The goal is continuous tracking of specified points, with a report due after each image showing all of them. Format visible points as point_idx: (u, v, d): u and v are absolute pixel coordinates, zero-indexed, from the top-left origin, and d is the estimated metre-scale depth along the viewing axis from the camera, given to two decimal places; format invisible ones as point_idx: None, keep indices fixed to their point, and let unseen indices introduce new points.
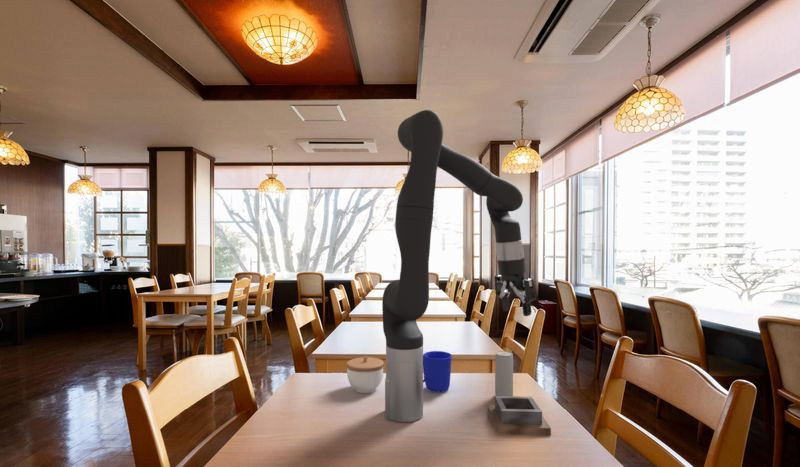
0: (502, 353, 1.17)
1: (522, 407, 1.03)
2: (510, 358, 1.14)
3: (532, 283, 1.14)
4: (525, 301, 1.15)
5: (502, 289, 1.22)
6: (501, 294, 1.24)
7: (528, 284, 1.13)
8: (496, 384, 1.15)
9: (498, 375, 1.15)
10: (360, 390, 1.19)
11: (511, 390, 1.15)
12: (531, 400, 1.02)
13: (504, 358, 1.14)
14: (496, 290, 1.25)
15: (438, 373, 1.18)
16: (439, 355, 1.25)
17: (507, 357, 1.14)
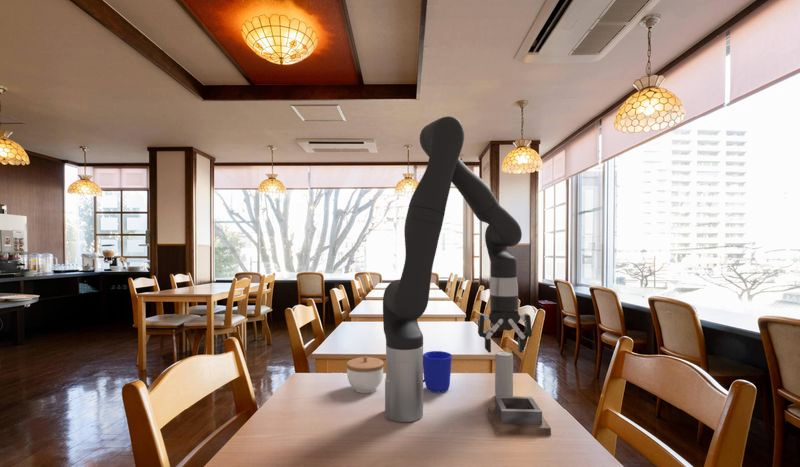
0: (502, 353, 1.17)
1: (522, 407, 1.03)
2: (510, 358, 1.14)
3: None
4: (524, 337, 1.15)
5: None
6: (489, 334, 1.15)
7: None
8: (496, 384, 1.15)
9: (498, 375, 1.15)
10: (360, 390, 1.19)
11: (511, 390, 1.15)
12: (531, 400, 1.02)
13: (504, 358, 1.14)
14: (481, 331, 1.15)
15: (438, 373, 1.18)
16: (439, 355, 1.25)
17: (507, 357, 1.14)
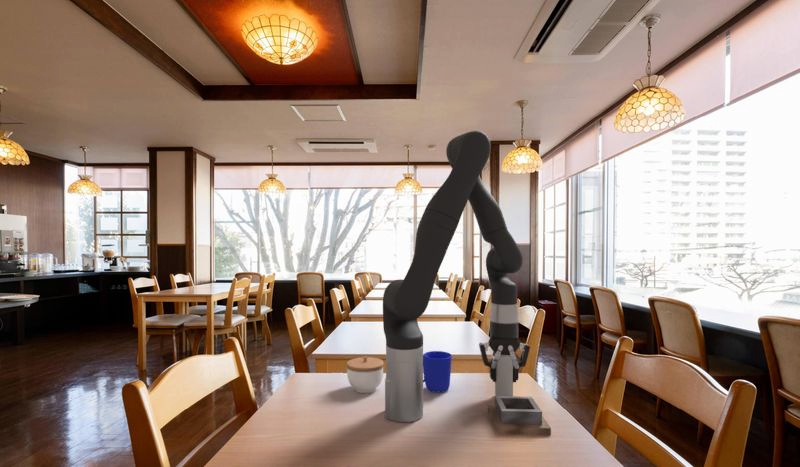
0: None
1: (522, 407, 1.03)
2: (510, 358, 1.14)
3: None
4: None
5: (496, 356, 1.15)
6: (493, 363, 1.15)
7: None
8: (496, 384, 1.15)
9: (498, 375, 1.15)
10: (360, 390, 1.19)
11: (511, 390, 1.15)
12: (531, 400, 1.02)
13: (504, 358, 1.14)
14: (485, 360, 1.15)
15: (438, 373, 1.18)
16: (439, 355, 1.25)
17: (507, 357, 1.14)
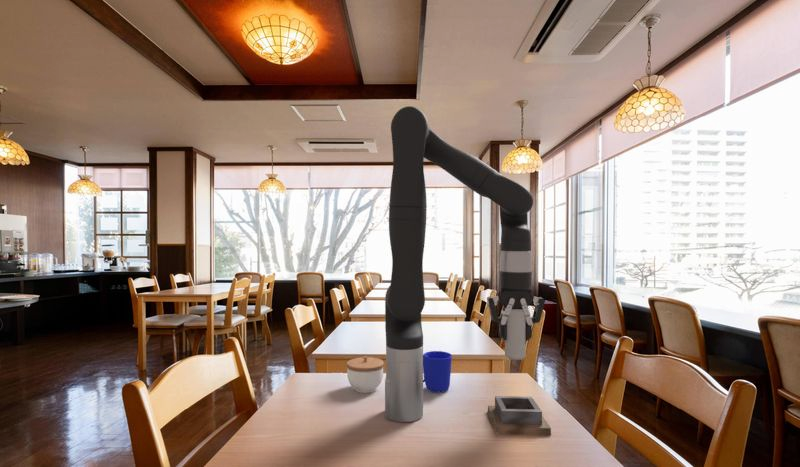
0: None
1: (522, 407, 1.03)
2: (523, 313, 1.00)
3: None
4: (531, 323, 1.01)
5: (507, 311, 1.01)
6: (503, 319, 1.01)
7: None
8: (506, 343, 1.01)
9: (509, 332, 1.01)
10: (360, 390, 1.19)
11: (524, 349, 1.01)
12: (531, 400, 1.02)
13: (516, 312, 1.00)
14: (494, 315, 1.01)
15: (438, 373, 1.18)
16: (439, 355, 1.25)
17: (519, 311, 1.00)
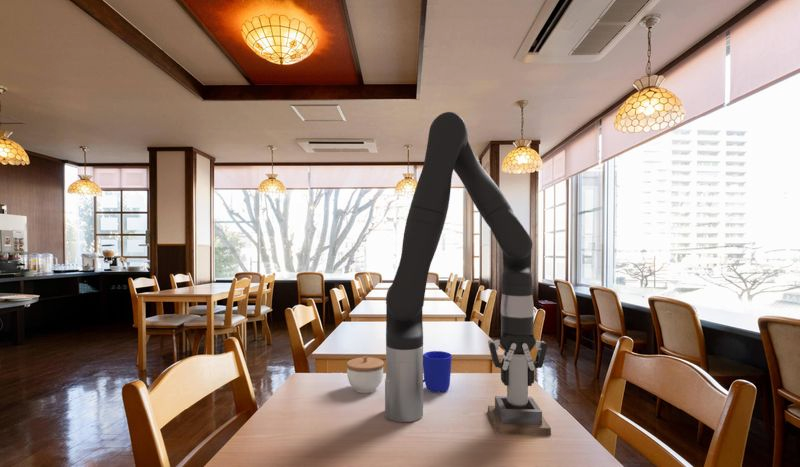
0: None
1: (522, 407, 1.03)
2: (525, 358, 0.98)
3: None
4: (534, 368, 0.99)
5: (509, 356, 0.99)
6: (505, 364, 0.99)
7: None
8: (508, 388, 1.00)
9: (511, 378, 0.99)
10: (360, 390, 1.19)
11: (526, 395, 0.99)
12: (531, 400, 1.02)
13: (518, 358, 0.98)
14: (496, 360, 0.99)
15: (438, 373, 1.18)
16: (439, 355, 1.25)
17: (521, 357, 0.98)
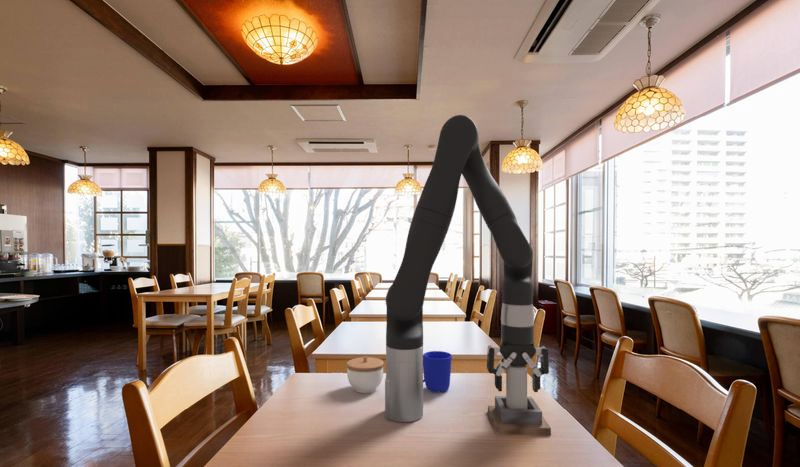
0: None
1: None
2: (524, 371, 0.98)
3: None
4: None
5: None
6: (500, 370, 0.99)
7: None
8: (508, 401, 1.00)
9: (510, 391, 0.99)
10: (360, 390, 1.19)
11: None
12: (531, 400, 1.02)
13: (517, 371, 0.98)
14: (491, 366, 0.99)
15: (438, 373, 1.18)
16: (439, 355, 1.25)
17: (520, 370, 0.98)
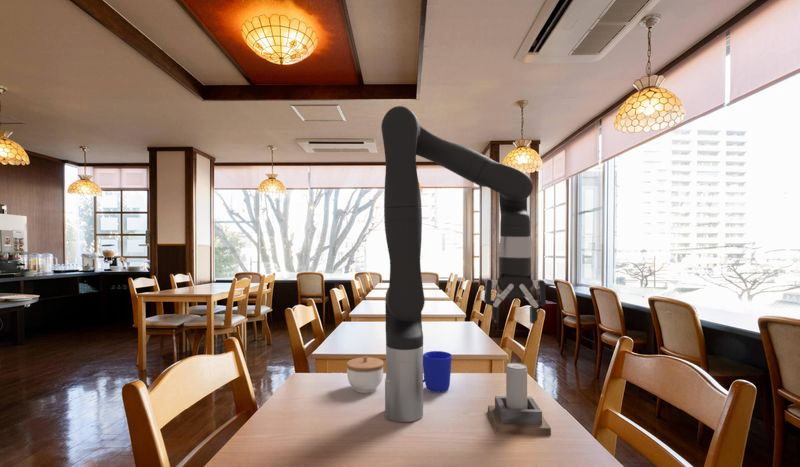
0: (514, 365, 1.01)
1: None
2: (524, 371, 0.98)
3: None
4: (537, 305, 1.01)
5: (503, 295, 1.00)
6: (497, 301, 1.01)
7: None
8: (508, 401, 0.99)
9: (511, 391, 0.99)
10: (360, 390, 1.19)
11: None
12: (531, 400, 1.02)
13: (517, 371, 0.98)
14: (488, 297, 1.01)
15: (438, 373, 1.18)
16: (439, 355, 1.25)
17: (520, 370, 0.98)
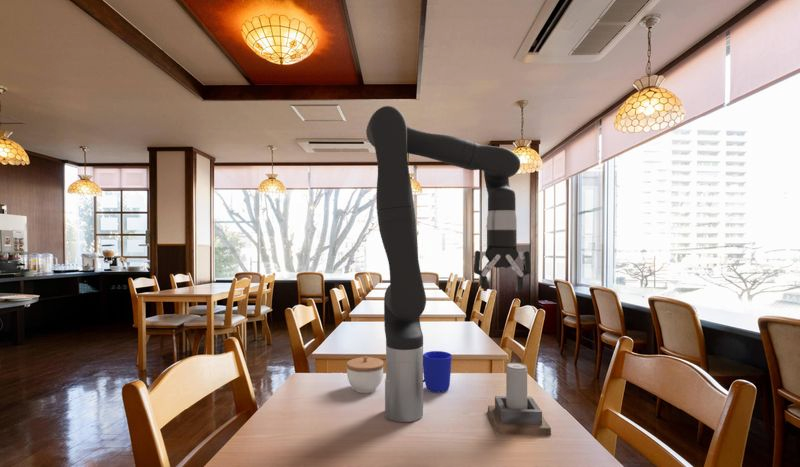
0: (514, 365, 1.01)
1: None
2: (524, 371, 0.98)
3: None
4: (522, 274, 1.08)
5: (490, 265, 1.08)
6: (485, 271, 1.08)
7: None
8: (508, 401, 1.00)
9: (511, 391, 0.99)
10: (360, 390, 1.19)
11: None
12: (531, 400, 1.02)
13: (517, 371, 0.98)
14: (477, 267, 1.09)
15: (438, 373, 1.18)
16: (439, 355, 1.25)
17: (521, 370, 0.98)
